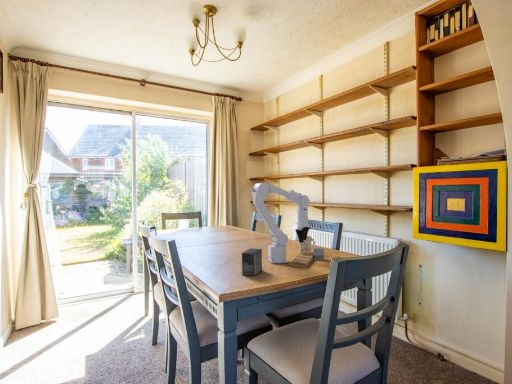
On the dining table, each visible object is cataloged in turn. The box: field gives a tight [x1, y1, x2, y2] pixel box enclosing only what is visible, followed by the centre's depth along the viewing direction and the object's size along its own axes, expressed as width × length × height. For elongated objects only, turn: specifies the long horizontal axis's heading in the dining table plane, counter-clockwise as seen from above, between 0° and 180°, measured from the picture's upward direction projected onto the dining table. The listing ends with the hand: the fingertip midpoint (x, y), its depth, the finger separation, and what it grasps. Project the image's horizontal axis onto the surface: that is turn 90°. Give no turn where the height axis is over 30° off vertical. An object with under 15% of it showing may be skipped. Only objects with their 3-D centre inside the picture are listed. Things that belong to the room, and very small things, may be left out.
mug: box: [297, 235, 316, 254], centre depth 175 cm, size 8×13×10 cm, turn 127°
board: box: [290, 252, 314, 269], centre depth 154 cm, size 24×8×2 cm, turn 158°
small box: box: [241, 247, 263, 277], centre depth 135 cm, size 11×6×10 cm, turn 159°
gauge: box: [301, 247, 325, 262], centre depth 160 cm, size 4×12×6 cm, turn 70°
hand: (302, 241), depth 159 cm, fingers open, 7 cm apart
